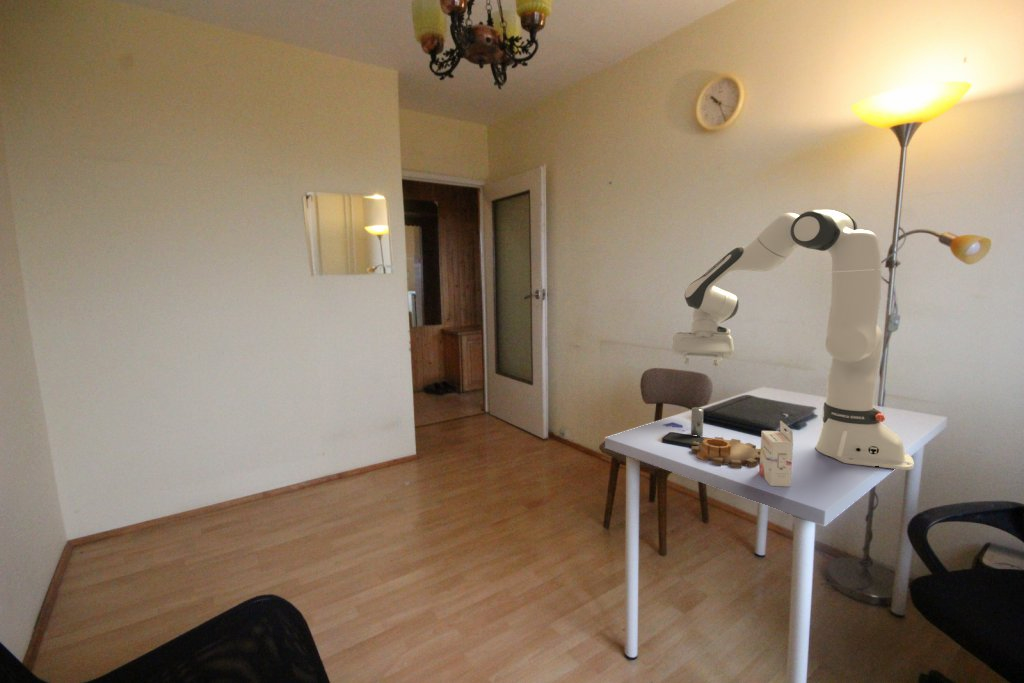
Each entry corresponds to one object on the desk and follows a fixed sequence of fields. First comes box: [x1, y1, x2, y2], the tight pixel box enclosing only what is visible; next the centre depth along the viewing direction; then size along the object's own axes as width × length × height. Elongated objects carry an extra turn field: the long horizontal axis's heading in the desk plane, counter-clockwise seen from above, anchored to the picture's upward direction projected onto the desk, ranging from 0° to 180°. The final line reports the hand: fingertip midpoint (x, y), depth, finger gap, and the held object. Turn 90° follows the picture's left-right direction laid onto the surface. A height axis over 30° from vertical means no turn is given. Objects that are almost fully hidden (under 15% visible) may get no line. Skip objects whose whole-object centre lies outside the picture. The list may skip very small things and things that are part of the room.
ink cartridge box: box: [758, 420, 794, 487], centre depth 118 cm, size 9×5×15 cm, turn 170°
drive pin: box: [690, 406, 705, 437], centre depth 152 cm, size 4×4×9 cm
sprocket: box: [690, 436, 761, 469], centre depth 136 cm, size 20×20×4 cm
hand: (700, 364), depth 160 cm, fingers open, 8 cm apart
